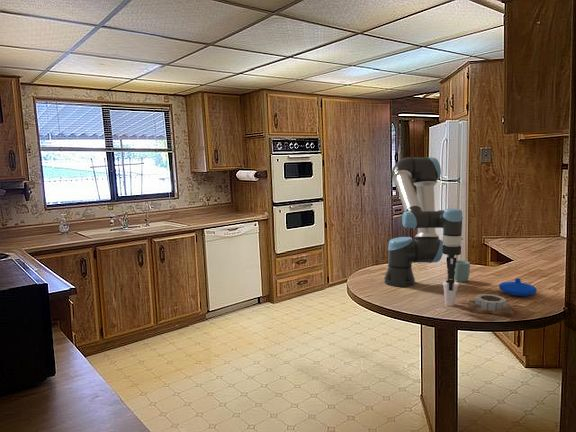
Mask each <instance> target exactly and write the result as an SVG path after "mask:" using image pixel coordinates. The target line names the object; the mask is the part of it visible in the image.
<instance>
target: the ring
mask: <svg viewBox="0 0 576 432" xmlns="http://www.w3.org/2000/svg"><path fill="white" fill-rule="evenodd" d="M474 301H475V305H476V307H478V308H480V309H484V310H489V311H502V310H505V309H506V303H507V299H506V298H505V297H503V296H500V295H498V294H488V293H483V294H482V293H481V294H477V295H475V300H474Z"/></svg>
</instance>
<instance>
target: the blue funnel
mask: <svg viewBox="0 0 576 432" xmlns="http://www.w3.org/2000/svg"><path fill="white" fill-rule="evenodd" d="M498 287H499V289H500V291H502V292H504V293H505V294H508V295H510V296H511V295H512V296H515V297H516V296H518V297H528V296H531V295H534V294H536V292H537V288H536V287H535V285H533V284H530V283H526V282H522V280H521V278H515V280H514V281H504V282H501V283H500V284H499V285H498Z"/></svg>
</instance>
